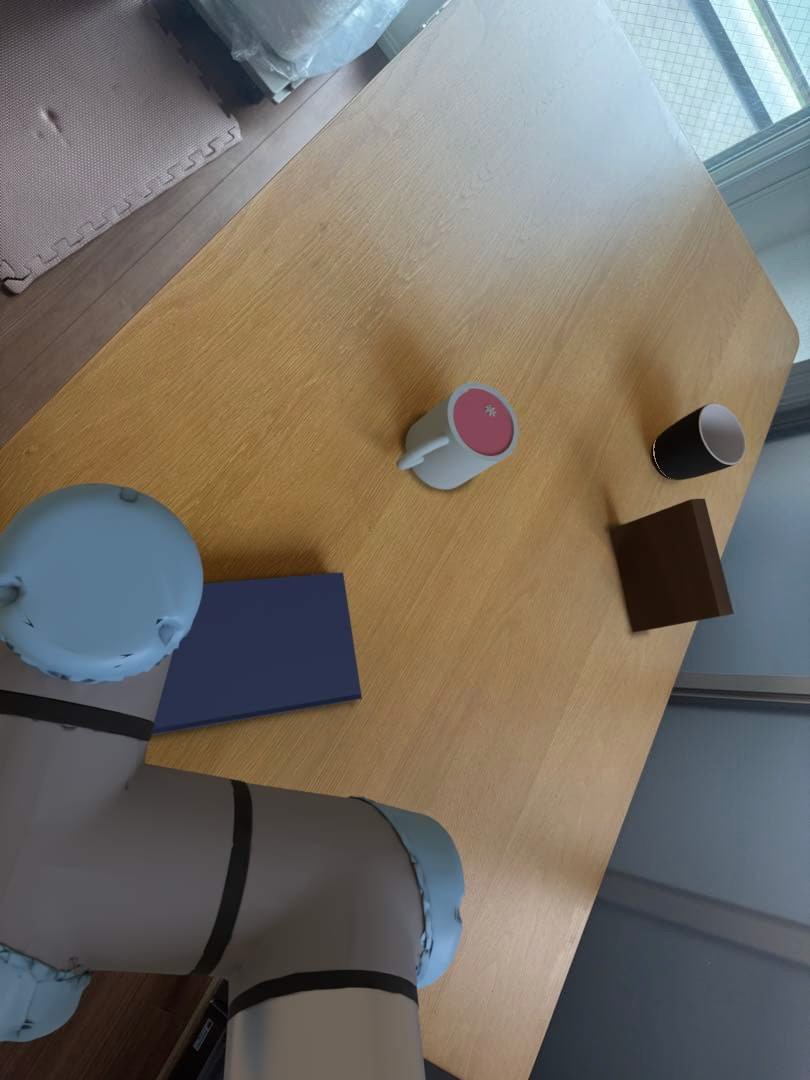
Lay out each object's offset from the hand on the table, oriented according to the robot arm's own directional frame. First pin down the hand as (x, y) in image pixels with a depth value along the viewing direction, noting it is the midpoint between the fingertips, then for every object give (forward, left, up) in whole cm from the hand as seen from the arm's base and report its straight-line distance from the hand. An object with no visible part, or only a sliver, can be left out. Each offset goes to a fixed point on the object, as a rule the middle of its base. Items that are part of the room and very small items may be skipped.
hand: (60, 667), depth 60 cm
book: (+15, 0, -5) cm, 16 cm away
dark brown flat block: (+69, +3, -5) cm, 69 cm away
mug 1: (+41, +20, -5) cm, 46 cm away
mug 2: (+83, +21, -5) cm, 86 cm away
